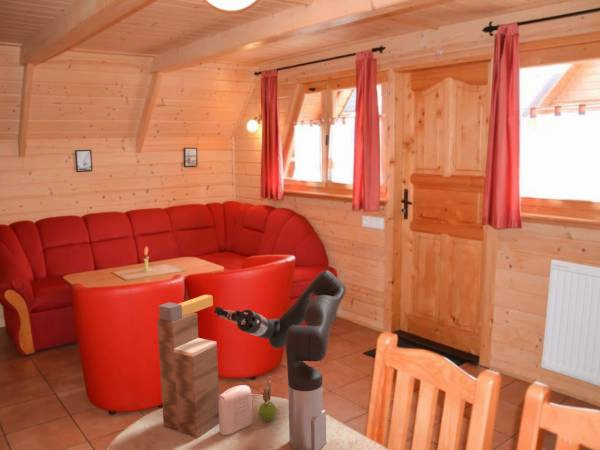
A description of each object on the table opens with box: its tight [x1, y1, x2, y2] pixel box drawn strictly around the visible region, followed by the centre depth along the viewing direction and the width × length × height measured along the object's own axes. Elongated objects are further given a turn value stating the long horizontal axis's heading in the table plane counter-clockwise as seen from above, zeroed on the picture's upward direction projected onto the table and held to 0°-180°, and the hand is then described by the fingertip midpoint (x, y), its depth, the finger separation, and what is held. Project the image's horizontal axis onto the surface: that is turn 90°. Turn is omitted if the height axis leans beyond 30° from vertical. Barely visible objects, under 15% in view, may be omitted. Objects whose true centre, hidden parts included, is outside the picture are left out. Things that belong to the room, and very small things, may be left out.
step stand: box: [156, 312, 220, 439], centre depth 157 cm, size 13×10×32 cm
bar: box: [158, 294, 214, 322], centre depth 160 cm, size 5×18×4 cm, turn 147°
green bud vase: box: [258, 376, 278, 422], centre depth 161 cm, size 5×6×12 cm
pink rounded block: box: [218, 384, 253, 436], centre depth 156 cm, size 10×4×12 cm, turn 134°
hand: (225, 311), depth 175 cm, fingers open, 8 cm apart
